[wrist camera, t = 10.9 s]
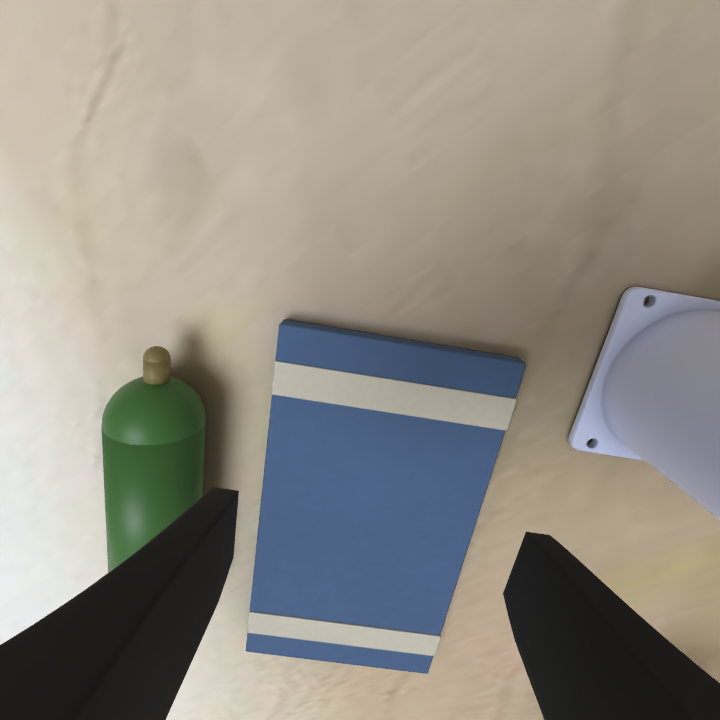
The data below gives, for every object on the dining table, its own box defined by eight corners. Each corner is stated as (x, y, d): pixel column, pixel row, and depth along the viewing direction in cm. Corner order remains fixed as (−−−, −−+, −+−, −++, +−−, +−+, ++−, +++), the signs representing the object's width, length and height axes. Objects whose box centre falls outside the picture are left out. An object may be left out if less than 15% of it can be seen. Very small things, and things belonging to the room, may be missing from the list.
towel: (518, 357, 18) (528, 364, 17) (425, 657, 24) (428, 676, 23) (283, 318, 17) (278, 323, 16) (250, 635, 23) (244, 653, 22)
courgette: (203, 586, 23) (187, 657, 19) (128, 589, 22) (96, 663, 18) (216, 338, 18) (198, 368, 14) (122, 328, 17) (76, 357, 13)
